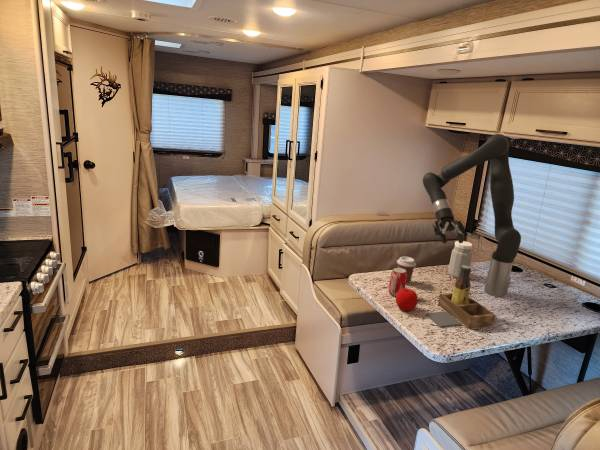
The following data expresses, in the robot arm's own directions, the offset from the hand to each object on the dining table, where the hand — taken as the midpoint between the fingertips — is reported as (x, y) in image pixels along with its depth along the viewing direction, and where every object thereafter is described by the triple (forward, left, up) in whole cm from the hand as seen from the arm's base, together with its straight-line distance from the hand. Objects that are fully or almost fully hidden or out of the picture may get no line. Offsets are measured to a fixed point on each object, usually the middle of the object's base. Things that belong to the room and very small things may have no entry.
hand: (453, 242), depth 175 cm
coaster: (+14, +20, -26) cm, 36 cm away
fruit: (+25, +9, -26) cm, 37 cm away
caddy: (+2, +18, -26) cm, 31 cm away
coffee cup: (+11, -16, -26) cm, 33 cm away
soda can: (+22, -4, -26) cm, 35 cm away
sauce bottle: (+2, +13, -26) cm, 29 cm away
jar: (-23, -19, -26) cm, 40 cm away
